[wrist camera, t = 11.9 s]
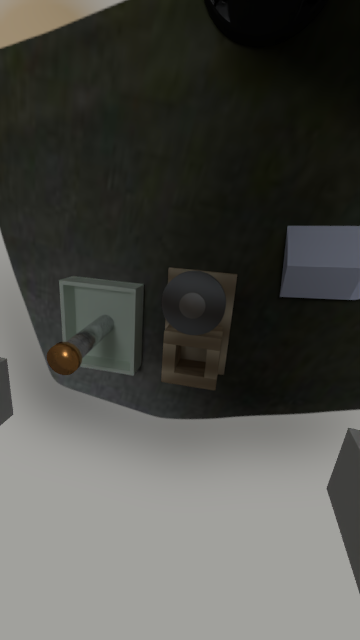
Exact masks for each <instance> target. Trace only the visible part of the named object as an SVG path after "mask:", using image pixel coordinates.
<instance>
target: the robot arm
mask: <svg viewBox="0 0 360 640" xmlns="http://www.w3.org/2000/svg"><path fill="white" fill-rule="evenodd" d="M204 1H205V4H206V7H207V10H208V12H209V14H210V16H211V18H212V20H213V21H214V23H215V24H216V26H217V27H218V28H219V29H220V30H221V31H222V32H223V33H224V34H225V35H226V36H227V37H229V38H230V39H232V40H233V41H235V42H237V43H240V44H243V45H246V46H252V47H265V46H270V45H275V44H278V43H280V42H283V41H285V40H287V39H289V38H291V37H292V36H294V35H296V34H297V33H298V32H300V31H301V30H302V29H304V28H305V27H306V26H307V25H308V24H309V23H310V22H311V21H312V20H313V19H314V18H315V17H316V16H317V15H318V13H319V12H320V11H321V9H322V8H323V7H324V5H325V4H326V2H327V0H204ZM12 415H13V408H12V400H11V391H10V383H9V374H8V365H7V359H5V358H0V425H1V424H3V423H4V422H5V421H6V420H7V419H8V418H10V417H11V416H12ZM327 491H328V494H329V497H330V500H331V503H332V507H333V510H334V513H335V516H336V519H337V522H338V526H339V529H340V532H341V535H342V538H343V542H344V545H345V548H346V551H347V554H348V558H349V560H350V564H351V567H352V570H353V574H354V577H355V580H356V583H357V586H358V589H359V593H360V430H356V429H351V428H348V431H347V433H346V436H345V439H344V442H343V444H342V447H341V450H340V453H339V455H338V458H337V461H336V464H335V467H334V469H333V472H332V475H331V478H330V480H329V483H328V486H327Z"/></svg>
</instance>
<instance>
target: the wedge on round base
mask: <svg viewBox="0 0 360 640" xmlns="http://www.w3.org/2000/svg"><path fill="white" fill-rule="evenodd" d="M280 297H296V298H318V299H340V300H357V299H360V226H288V227H287V236H286V245H285V254H284V263H283V272H282V281H281V290H280Z"/></svg>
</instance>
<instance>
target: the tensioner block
mask: <svg viewBox="0 0 360 640" xmlns="http://www.w3.org/2000/svg"><path fill="white" fill-rule="evenodd" d="M236 281H237V274H231V273H221V272H211V271H202V270H192V269H182V268H172V267H170V268H169V271H168V285H167V286H166V288H165V289H164V292H163V295H162V300H161V306H162V311H163V314H164V316H165V318H166V322H165V331H164V343H163V360H162V377H161V382H166V383H172V384H178V385H184V386H190V387H196V388H202V389H208V390H214V391H215V388H216V381H217V375H218V374H220V375H224V370H225V363H226V356H227V348H228V341H229V333H230V326H231V318H232V311H233V304H234V296H235V289H236Z"/></svg>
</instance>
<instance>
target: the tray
mask: <svg viewBox="0 0 360 640" xmlns="http://www.w3.org/2000/svg"><path fill="white" fill-rule="evenodd" d="M59 286H60V303H61V319H62V336H63V342H67V341H68V340H69V339H71V338H72V337H73V336H74V335H76V334H77V333H78V332H80V331H81V330H82V329H84V328H85V327H86V326H88V325H89V324H90V323H91V322H93V321H94V320H95V319H97V318H98V317H99V316H101V315H108V316H110V317H111V318H112V319H113V321H114V328H113V330H112V331H110V332H109V333H108V334H107V335H106V336H105V337H104V338H103V339H102V340H101V341H100V342H99V343H98V344H97V345H96V346H95V347H94V348H93V349H92V350H91V351H90V352H88V353H87V354H86V355H85V356H84V357H83V358H82V363H81V365H80V367H85V368H91V369H97V370H103V371H109V372H115V373H121V374H127V375H133V376H134V374H135V373H136V371H137V370H138V369H139V367H140V366H141V359H142V329H143V299H144V284H139V283H130V282H121V281H112V280H103V279H95V278H86V277H77V276H72V277H68V278H65V279H62V280H59Z"/></svg>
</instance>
